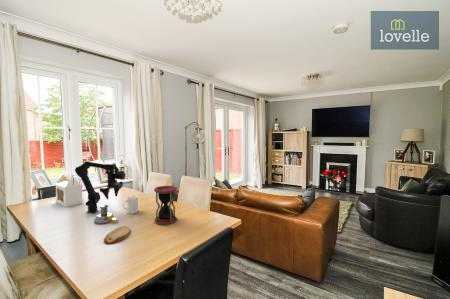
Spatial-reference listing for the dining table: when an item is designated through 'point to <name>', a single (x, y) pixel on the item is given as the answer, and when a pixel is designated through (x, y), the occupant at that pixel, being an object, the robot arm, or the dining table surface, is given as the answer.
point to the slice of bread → (117, 235)
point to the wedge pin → (103, 210)
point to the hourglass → (165, 205)
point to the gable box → (68, 190)
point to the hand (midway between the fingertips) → (111, 197)
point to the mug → (132, 204)
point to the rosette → (105, 219)
